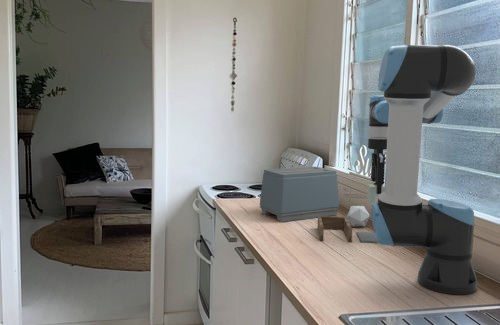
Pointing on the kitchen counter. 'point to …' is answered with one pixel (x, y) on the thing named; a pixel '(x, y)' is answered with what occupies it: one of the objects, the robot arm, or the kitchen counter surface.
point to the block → (371, 192)
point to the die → (358, 216)
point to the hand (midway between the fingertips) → (376, 200)
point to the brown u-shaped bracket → (334, 225)
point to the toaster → (299, 193)
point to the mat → (367, 237)
